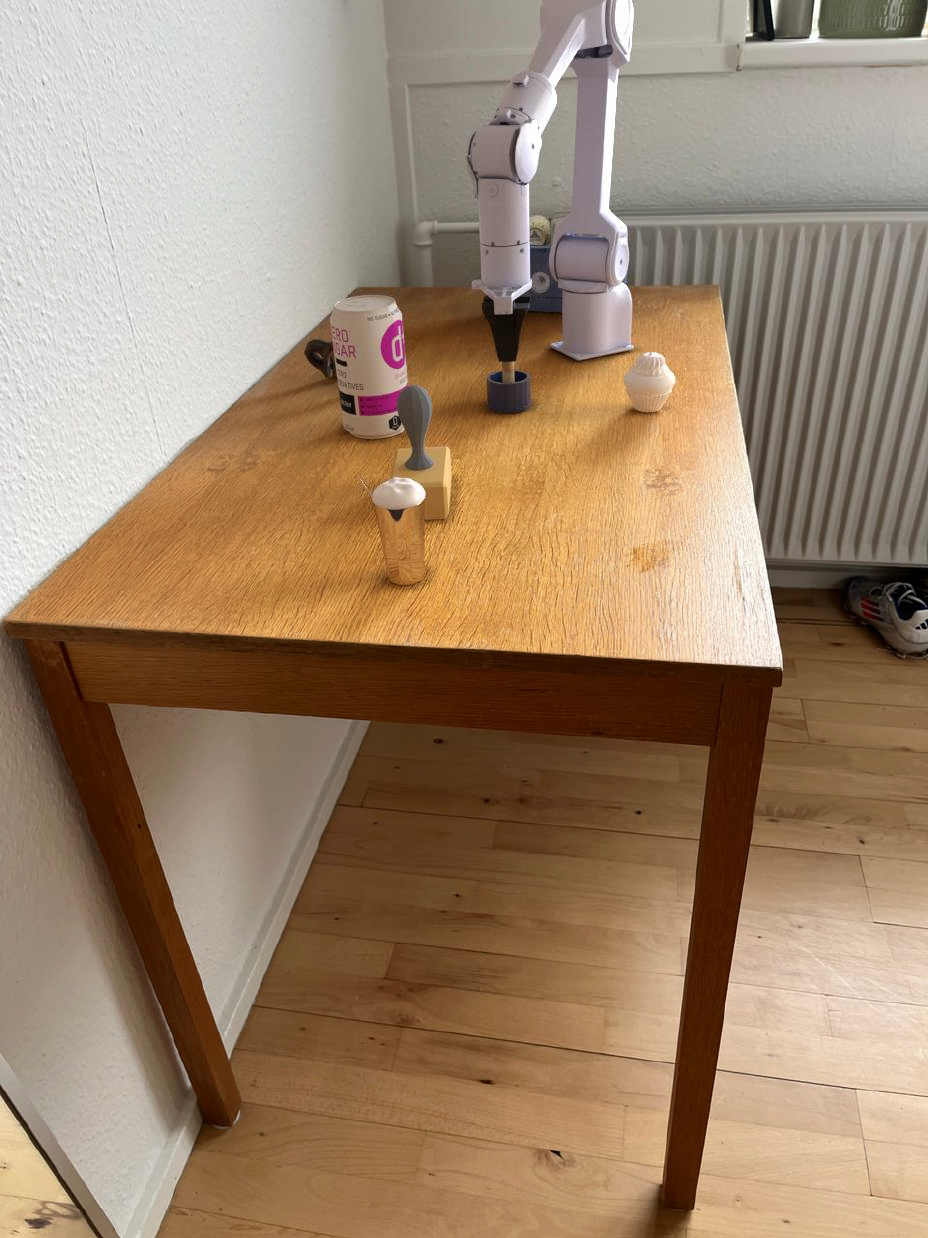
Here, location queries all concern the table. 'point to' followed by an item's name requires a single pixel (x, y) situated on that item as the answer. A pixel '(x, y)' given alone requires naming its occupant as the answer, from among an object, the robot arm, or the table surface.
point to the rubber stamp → (423, 453)
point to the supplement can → (369, 364)
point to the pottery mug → (326, 353)
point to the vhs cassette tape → (545, 282)
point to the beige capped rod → (508, 372)
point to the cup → (508, 393)
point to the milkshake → (401, 528)
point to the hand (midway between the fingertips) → (507, 358)
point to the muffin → (649, 382)
